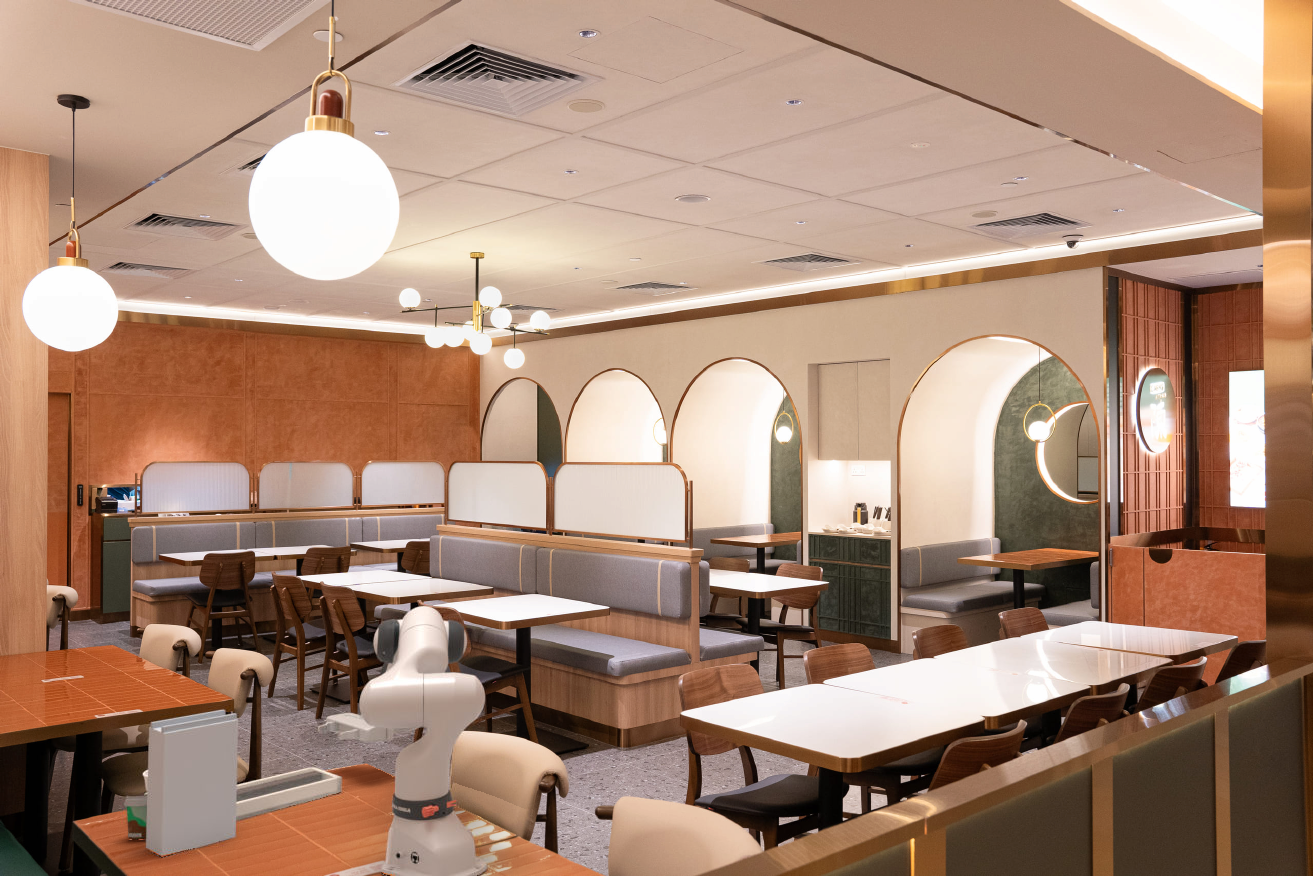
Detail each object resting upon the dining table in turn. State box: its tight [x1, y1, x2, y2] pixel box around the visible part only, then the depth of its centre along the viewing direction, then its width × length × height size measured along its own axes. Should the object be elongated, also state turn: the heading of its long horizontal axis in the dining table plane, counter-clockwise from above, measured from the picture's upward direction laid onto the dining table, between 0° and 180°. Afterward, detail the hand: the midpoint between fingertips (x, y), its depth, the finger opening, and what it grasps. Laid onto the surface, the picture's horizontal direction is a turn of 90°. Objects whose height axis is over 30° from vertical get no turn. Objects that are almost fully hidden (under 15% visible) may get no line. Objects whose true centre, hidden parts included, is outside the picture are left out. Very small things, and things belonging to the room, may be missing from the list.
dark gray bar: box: [236, 771, 322, 802], centre depth 243 cm, size 4×24×4 cm, turn 139°
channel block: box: [145, 709, 239, 856], centre depth 215 cm, size 8×16×27 cm, turn 139°
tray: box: [236, 766, 343, 822], centre depth 242 cm, size 14×31×4 cm, turn 139°
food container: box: [123, 791, 147, 840], centre depth 219 cm, size 12×6×10 cm, turn 161°
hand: (329, 733), depth 255 cm, fingers open, 8 cm apart
